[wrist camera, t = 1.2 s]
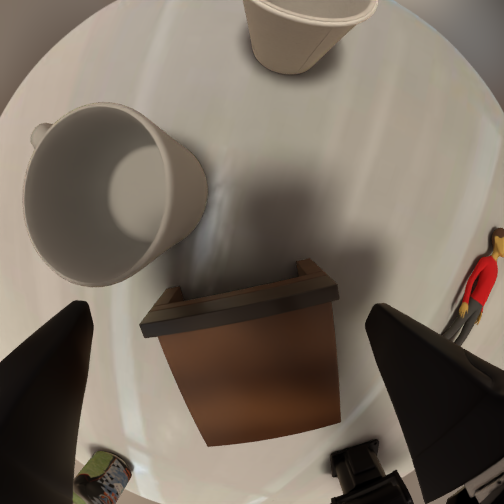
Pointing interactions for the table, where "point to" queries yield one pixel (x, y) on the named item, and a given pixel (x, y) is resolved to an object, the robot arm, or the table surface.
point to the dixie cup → (300, 29)
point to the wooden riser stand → (254, 356)
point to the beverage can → (101, 480)
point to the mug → (108, 193)
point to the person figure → (478, 290)
